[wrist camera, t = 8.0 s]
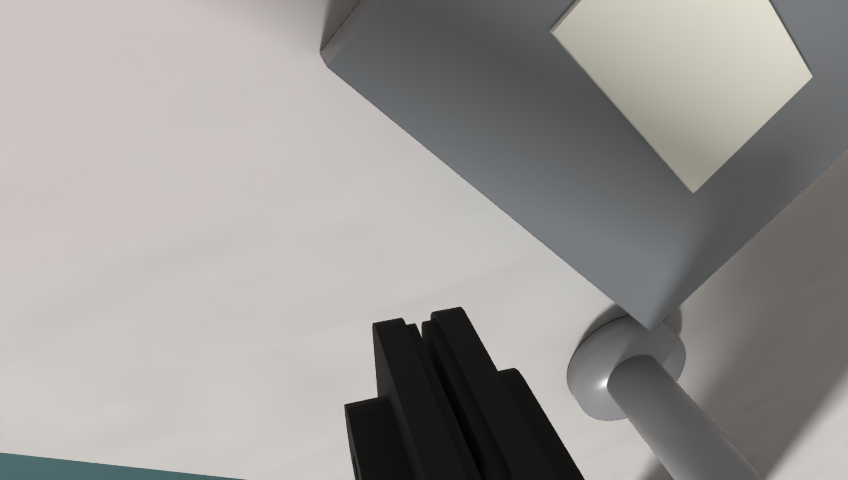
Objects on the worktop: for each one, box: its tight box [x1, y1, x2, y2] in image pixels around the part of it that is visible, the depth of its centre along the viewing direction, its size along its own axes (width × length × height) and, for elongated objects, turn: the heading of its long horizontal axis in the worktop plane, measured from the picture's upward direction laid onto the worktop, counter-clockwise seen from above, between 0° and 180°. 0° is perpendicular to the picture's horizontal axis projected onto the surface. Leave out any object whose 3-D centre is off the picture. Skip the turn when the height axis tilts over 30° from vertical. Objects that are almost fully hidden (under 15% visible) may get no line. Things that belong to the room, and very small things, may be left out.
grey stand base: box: [320, 0, 848, 480], centre depth 17 cm, size 20×18×9 cm
